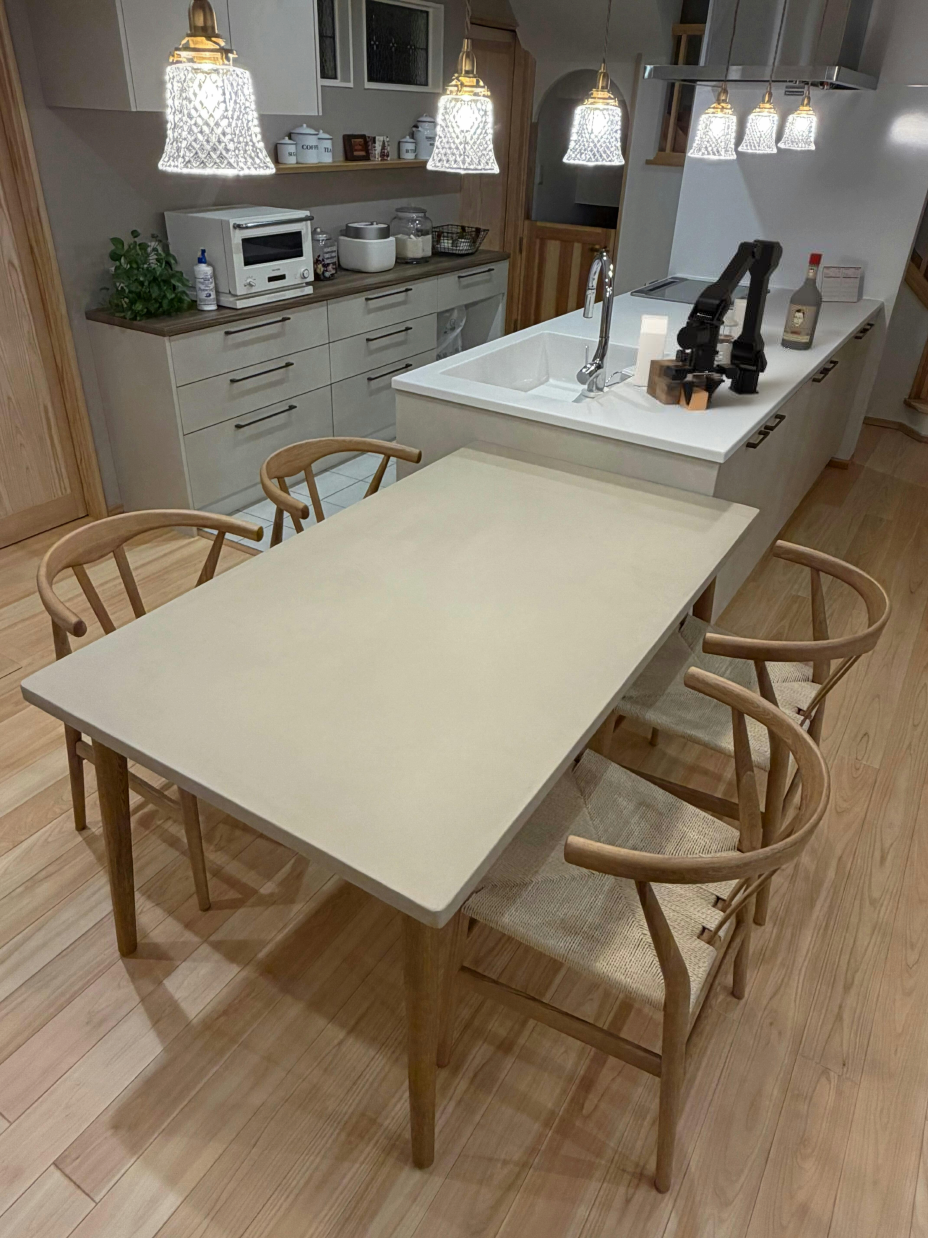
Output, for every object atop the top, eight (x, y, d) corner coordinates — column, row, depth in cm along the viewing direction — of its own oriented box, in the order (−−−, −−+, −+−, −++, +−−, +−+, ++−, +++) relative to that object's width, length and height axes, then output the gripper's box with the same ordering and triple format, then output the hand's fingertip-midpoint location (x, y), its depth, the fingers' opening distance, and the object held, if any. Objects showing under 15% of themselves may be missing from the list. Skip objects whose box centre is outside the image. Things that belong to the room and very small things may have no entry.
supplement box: (755, 350, 286) (764, 304, 279) (728, 348, 288) (736, 302, 280) (752, 345, 294) (761, 299, 286) (726, 343, 295) (734, 298, 288)
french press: (715, 373, 258) (731, 286, 245) (690, 364, 267) (704, 280, 254) (739, 370, 262) (756, 284, 249) (714, 361, 271) (728, 278, 258)
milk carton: (658, 387, 241) (668, 318, 232) (633, 385, 242) (642, 316, 233) (658, 381, 247) (668, 313, 238) (634, 379, 248) (643, 312, 239)
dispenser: (692, 390, 239) (698, 358, 235) (713, 403, 228) (719, 370, 224) (644, 392, 236) (649, 359, 232) (664, 405, 225) (669, 371, 221)
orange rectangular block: (688, 399, 231) (691, 382, 229) (705, 409, 223) (708, 392, 221) (673, 399, 231) (676, 383, 228) (689, 410, 222) (692, 393, 220)
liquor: (786, 342, 298) (806, 251, 283) (812, 346, 294) (834, 253, 279) (778, 347, 292) (798, 253, 277) (805, 351, 288) (826, 256, 272)
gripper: (724, 336, 224) (713, 395, 232) (659, 338, 220) (650, 397, 228) (745, 346, 215) (733, 406, 223) (677, 347, 211) (668, 409, 219)
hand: (695, 404), depth 223 cm, fingers closed on orange rectangular block, 4 cm apart
